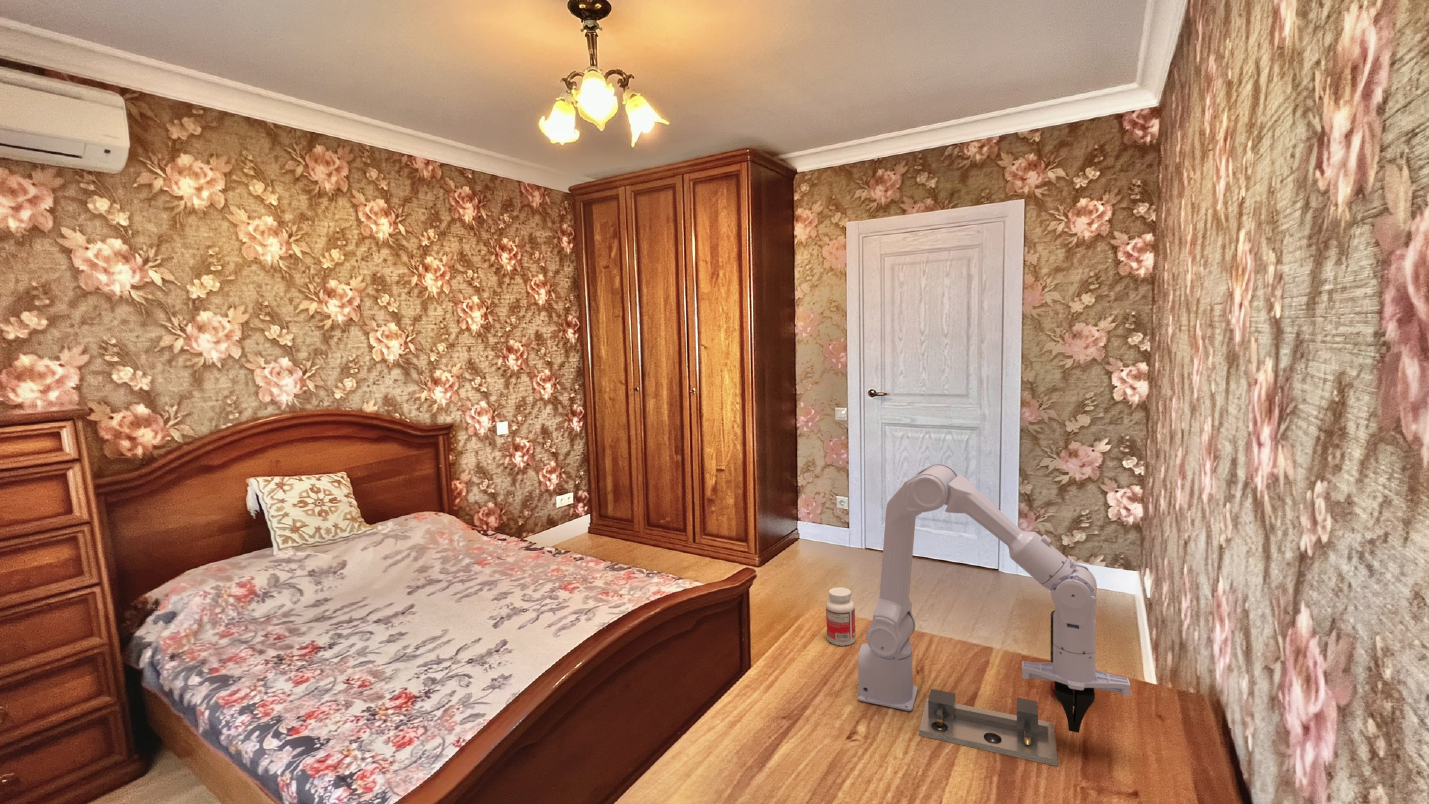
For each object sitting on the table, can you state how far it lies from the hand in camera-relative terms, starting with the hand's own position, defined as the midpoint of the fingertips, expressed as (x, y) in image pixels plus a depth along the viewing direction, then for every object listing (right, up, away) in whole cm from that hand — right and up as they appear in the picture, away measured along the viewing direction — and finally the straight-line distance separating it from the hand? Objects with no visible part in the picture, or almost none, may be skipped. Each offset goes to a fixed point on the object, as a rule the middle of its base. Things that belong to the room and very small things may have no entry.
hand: (1073, 728), depth 97 cm
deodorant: (+7, -2, +14) cm, 15 cm away
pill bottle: (-29, -1, +38) cm, 48 cm away
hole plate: (-12, -3, +5) cm, 13 cm away
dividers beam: (-12, -2, +5) cm, 13 cm away
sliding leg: (-6, -2, +2) cm, 7 cm away
